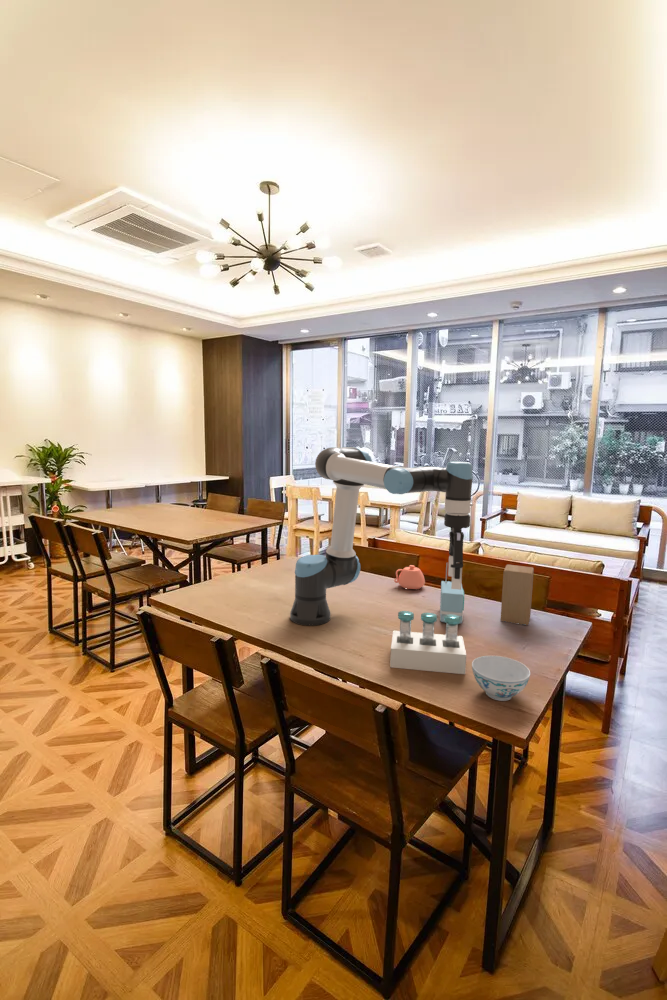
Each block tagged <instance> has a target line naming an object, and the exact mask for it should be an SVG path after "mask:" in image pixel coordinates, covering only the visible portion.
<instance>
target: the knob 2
mask: <svg viewBox="0 0 667 1000" xmlns="http://www.w3.org/2000/svg"><path fill="white" fill-rule="evenodd" d="M443 623H446V625H445V635H446V640H445V647H452V648H456V647H457V636H458V628H459V627H458V626H459V624H461V623H460V617H459V616H457V615H453V614H448V615H445V616H444V622H443Z"/></svg>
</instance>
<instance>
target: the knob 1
mask: <svg viewBox="0 0 667 1000" xmlns="http://www.w3.org/2000/svg"><path fill="white" fill-rule="evenodd" d="M414 617H415V614H414V612H412V611H410V610H401V611H398V612H397V618H398V620H399V631H400V640H399V643H406V644H410V641H411V632H412V621H414Z"/></svg>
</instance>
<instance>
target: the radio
mask: <svg viewBox="0 0 667 1000" xmlns="http://www.w3.org/2000/svg"><path fill="white" fill-rule="evenodd" d="M445 565H446V567H445V581H444V580H441V582H440V599H439V600H440V602H439V604H440V605H439V621H440V622H442V623H445V622H444V616H445V615H448V614H453V615H457V616H459V617H460V624H462V623H463V621H464V620H463V619H464V617H463V612H464V609H465V590H464V588H463V584H462V582H461V590H459V589H451V585H452V581H449V580H448V581H447V579H448V562H446V564H445Z"/></svg>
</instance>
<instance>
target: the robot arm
mask: <svg viewBox="0 0 667 1000" xmlns="http://www.w3.org/2000/svg"><path fill="white" fill-rule="evenodd" d="M372 460H373V459H372V457H371V456H370V455H369V452H368V451H367V450H366V449H365V448H362V447H357V446H356V447H354V446H348V447H346V446H344V447H343V446H342V447H328V448H325V449H323V450H321V451H320V452H319V453H318V454H317V457H316V458H315V461H314V463H315V464H314V467H315V469H316V472H317V474H318V475H319V476H320V477H322V478H323V479H325V480H328V481H329V480H331V481H332V482H333V484H334V486H336V488H335V489H336V492H335V501H334V510H333V521H332V528H331V529H332V530H331V538H330V546H328V548H326V549H325V556H324V555H322V554H309V555H305V556H301V557H300V558H298V559H297V560H296V562H295V568H294V575H295V576H294V580H295V581H294V583H295V585H294V587H295V588H294V601H293V603H292V607H291V608H290V609H291V610H290V613H289V614H290V618H289V619H290V621H292V623H295V624H297V625H301V626H320V625H324V624H326V623H328V622H329V621H330V620H331V610H330V607H329V603H328V600H327V589H330V588H336V587H339V586H345V585H346V586H347V585H348V584H350V583H354V582H355V581H356V580H357V579H358V578H359V576H360V573H361V563H360V559H359V557H358V556H357V555H356V554H357V553H356V551H355V550H354V549H353V546H354V541H355V540H354V538H355V531H356V530H355V528H356V521H357V520H356V519H357V512H358V503H359V497H360V496H359V495H360V494H359V493H360V489H362V488H363V486H365V485H367V486H371V487H375V488H379V489H383V490H384V489H385V490H386V491H388V492H389V493H390V494H392V495H405V494H412V493H413V494H414V493H426V492H440V493H445V497H444V513H445V514H444V523H443V525H444V526H445V527H447V528H450V531H449V535H448V537H449V548H448V554H449V555H448V568H447V577H451V582H452V585H451V589H459V590H461V583H462V580H463V578H462V576H463V575H462V574H463V568H464V538H465V533H464V532H463V531H462V529H468V528H470V526H471V515H470V514H471V510H472V508H471V507H473V505H474V504H473V502H472V490H473V489H472V486H473V478H474V476H473V465H472V463H471V462H468V461H448V462H447V463H446V467H441V466H439V467H438V466H431V465H422V466H421V465H420V466H418V467H401V466H398V465H397V466H396V465H391V464H385V463H381V462H380V463H379V462H375V461H372Z"/></svg>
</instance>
